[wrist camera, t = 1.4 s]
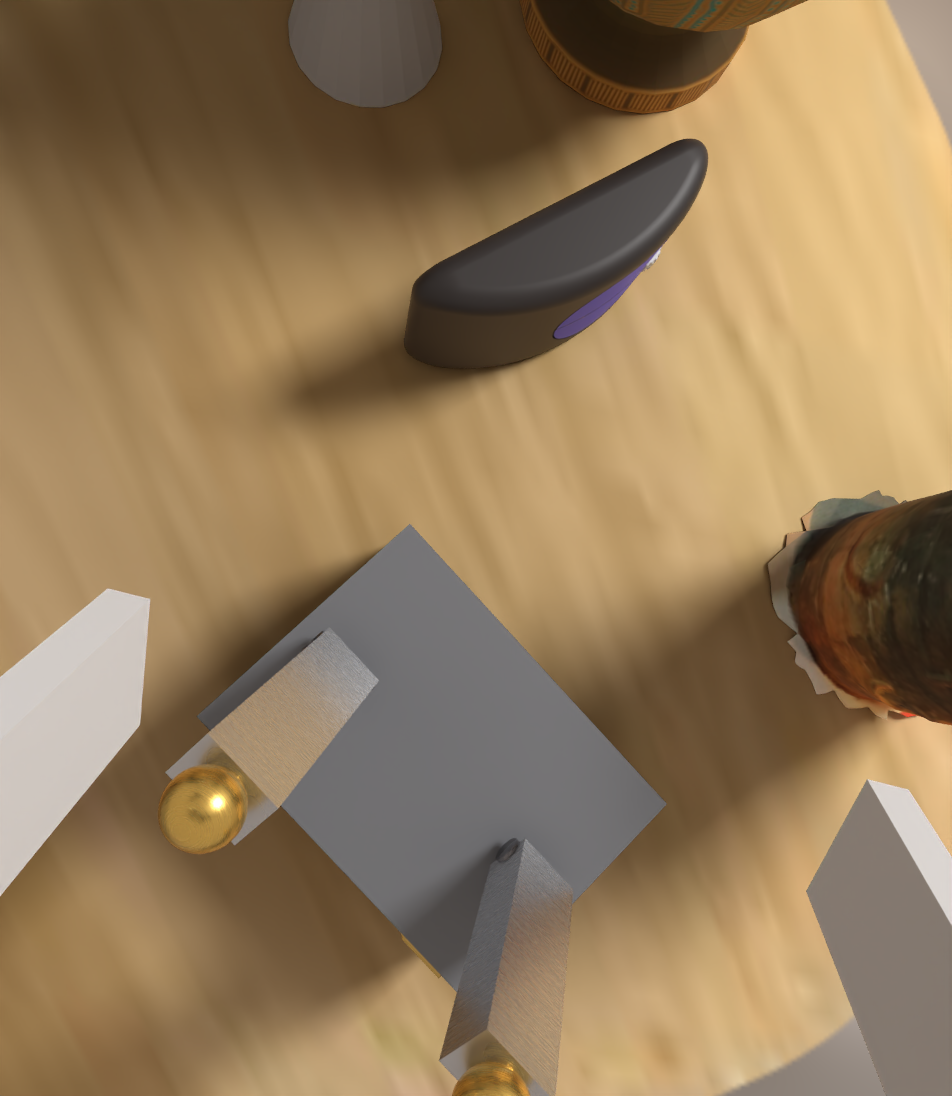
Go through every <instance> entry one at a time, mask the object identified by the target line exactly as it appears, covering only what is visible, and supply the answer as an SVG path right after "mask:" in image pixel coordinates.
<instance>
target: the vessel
mask: <svg viewBox="0 0 952 1096" xmlns="http://www.w3.org/2000/svg"><path fill="white" fill-rule="evenodd" d="M802 519H803V522H804V525H805V528H806V531H803V532H795V533H788V534H787V541H786V547H785V548H784V549H783V550H782V551H780V552H779V553H778V554H777V555H776V556H775V557H774V558H773V559H772V560H771V561H770V562H769V563H768V569H769V575H770V581H771V596H772V602H773V606H774V609H775V611H776V613H777V616H778V617H779V618H780V619H781V620H782V621H783V622H784V623H785V624H787V625H788V626H789V627H790V628H791V629H793V630H794V631H795V632H796V633H798V634H796V635H795V636H794V637H793V638H791V639H790V640H789V641H788V643H789V644H790V645H791V646H792V648H793V649H794V650H795V651H796V657H795V663H796V664H797V665H798V666H799V667H800V668H802V669H805V671H806V672H807V674H808V676H809V678H810V679H811V681H812V684H813V686H814V689H815V692H816V694H825V693H828V692H830V691H833V690H834V691H835V693H836V694H837V696H838V698H839V699H840V701H841V702H842V703H843V704H844V706H845V707H846V708H852V709H859V708H865V707H869V708H870V709H871V711H872V712H873V713H874V714H875V715H876V716H878V717H880V718H883V719H886V720H887V716H888V710H890V711H893V712H897V713H900V714H902V715H904V716H907V717H910V716H915V715H917V716H921V717H924V718H926V719H928V720H929V721H932V722H937V723H942V724H948V725H952V490H951V491H947V492H944V493H940V494H936V495H933V496H929V497H925V498H921V499H917V500H913V501H909V502H907V501H906V500H905V501H904V502H902V503H901V504H899V503H898V502H897V501H896V500H895V499H894V498H893V497H890V496H882V495H881V493H880V491H879V490H878V491H875V492H873V493H871V494H869V495H867V496H865V497H864V498H862V499H838V498H833V499H829V500H825V501H821V502H818V504H817V505H816V506H815V507H814V508H813V509H812V511H810V512H809V513H808V514H806V515H805V516H803V517H802Z"/></svg>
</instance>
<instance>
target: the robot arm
mask: <svg viewBox="0 0 952 1096" xmlns="http://www.w3.org/2000/svg"><path fill="white" fill-rule="evenodd" d="M149 607H150V599H148V598H144V597H140V596H136V595H132V594H128V593H124V592H120V591H116V590H112V589H107V590H105V591H104V592H103V593H102V594H100V595H99V596H98V597H97V598H96V599H94V600H93V601H92V602H91V603H90V604H88V605H87V606H86V607H85V608H83V609H82V610H81V611H80V612H79V613H77V614H76V615H75V616H74V617H73V618H71V619H70V620H69V621H68V622H66V623H65V624H64V625H63V626H62V627H60V628H59V629H58V630H57V631H56V632H54V633H53V634H52V635H51V636H49V637H48V638H47V639H46V640H45V641H43V642H42V643H41V644H40V645H39V646H37V647H36V648H35V649H34V650H33V651H31V652H30V653H29V654H28V655H26V656H25V657H24V658H23V659H22V660H20V661H19V662H18V663H17V664H16V665H14V666H13V667H12V668H11V669H9V670H8V671H7V672H6V673H5V674H3V675H2V676H1V677H0V896H1V895H2V893H3V892H4V891H5V890H6V888H7V887H8V886H9V885H10V883H11V882H12V881H13V880H14V879H15V877H16V876H17V875H18V874H19V872H20V871H21V870H22V869H23V868H24V866H25V865H26V864H27V863H28V861H29V860H30V859H31V858H32V857H33V855H34V854H35V853H36V852H37V850H38V849H39V848H40V847H41V846H42V844H43V843H44V842H45V841H46V839H47V838H48V837H49V836H50V835H51V833H52V832H53V831H54V830H55V828H56V827H57V826H58V825H59V824H60V822H61V821H62V820H63V819H64V817H65V816H66V815H67V814H68V812H69V811H70V810H71V809H72V808H73V806H74V805H75V804H76V803H77V801H78V800H79V799H80V798H81V797H82V795H83V794H84V793H85V792H86V790H87V789H88V788H89V787H90V786H91V784H92V783H93V782H94V781H95V779H96V778H97V777H98V776H99V775H100V773H101V772H102V771H103V770H104V768H105V767H106V766H107V765H108V764H109V762H110V761H111V760H112V759H113V757H114V756H115V755H116V754H117V753H118V751H119V750H120V749H121V748H122V746H123V745H124V744H125V743H126V742H127V740H128V739H129V738H130V737H131V735H132V734H133V733H134V732H135V730H136V729H137V728H138V727H139V726H140V718H141V706H142V693H143V681H144V669H145V656H146V644H147V632H148V619H149ZM806 892H807V894H808V897H809V899H810V902H811V905H812V907H813V910H814V912H815V915H816V917H817V920H818V922H819V925H820V928H821V930H822V933H823V935H824V938H825V940H826V943H827V946H828V948H829V951H830V953H831V956H832V958H833V961H834V964H835V966H836V969H837V971H838V974H839V976H840V979H841V982H842V984H843V987H844V989H845V992H846V994H847V997H848V1000H849V1002H850V1005H851V1007H852V1010H853V1012H854V1015H855V1018H856V1020H857V1023H858V1025H859V1028H860V1030H861V1033H862V1035H863V1038H864V1041H865V1043H866V1045H867V1048H868V1051H869V1053H870V1056H871V1059H872V1061H873V1064H874V1066H875V1069H876V1071H877V1074H878V1077H879V1079H880V1082H881V1084H882V1087H883V1089H884V1092H885V1094H886V1096H952V857H951V855H950V854H949V852H948V850H947V849H946V847H945V846H944V844H943V843H942V841H941V840H940V838H939V836H938V835H937V833H936V832H935V830H934V829H933V827H932V826H931V824H930V822H929V821H928V819H927V818H926V816H925V815H924V813H923V811H922V810H921V808H920V807H919V805H918V804H917V802H916V801H915V799H914V797H913V796H912V794H911V793H910V791H909V790H908V789H904V788H900V787H896V786H892V785H888V784H884V783H880V782H876V781H872V780H868V779H867V781H866V782H865V784H864V786H863V788H862V790H861V792H860V793H859V795H858V797H857V799H856V801H855V803H854V804H853V806H852V808H851V810H850V812H849V814H848V815H847V817H846V819H845V821H844V823H843V825H842V826H841V828H840V830H839V832H838V834H837V836H836V837H835V839H834V841H833V843H832V845H831V847H830V848H829V850H828V852H827V854H826V856H825V858H824V859H823V861H822V863H821V865H820V867H819V869H818V870H817V872H816V874H815V876H814V878H813V880H812V881H811V883H810V885H809V887H808V889H807V891H806Z"/></svg>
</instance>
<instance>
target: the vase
mask: <svg viewBox="0 0 952 1096" xmlns="http://www.w3.org/2000/svg"><path fill="white" fill-rule="evenodd" d="M805 1H807V0H520V5H521V9H522V13H523V17H524V22H525V26H526V30H527V32H528V34H529V36H530V38H531V40H532V41H533V43H534V45H535V47H536V49H537V51H538V53H539V55H540V57H541V58H542V59H543V60H544V61H545V63H546V64H547V65H548V66H549V67H550V68H551V69H552V71H553V72H554V73H555V74H556V75H557V76H558V77H559V79H560V80H561V81H563V82H564V83H565V84H567V85H568V86H570V87H571V88H572V89H574V90H575V91H577V92H578V93H579V94H581V95H582V96H584V97H585V98H587V99H589V100H592V101H594V102H597V103H599V104H602V105H604V106H607V107H609V108H612V109H614V110H621V111H628V112H635V113H643V114H645V113H652V112H660V111H668V110H673V109H675V108H677V107H680V106H682V105H684V104H687V103H689V102H691V101H694V100H696V99H697V98H699V97H700V96H701V95H702V94H703V93H705V92H706V91H707V90H708V89H709V88H710V87H712V86H713V85H714V84H715V83H716V82H717V81H718V80H719V78H720V77H721V75H722V74H723V72H724V71H725V69H726V68H727V66H728V65H729V63H730V62H731V60H732V59H733V57H734V56H735V54H736V53H737V51H738V50H739V48H740V46H741V45H742V43H743V42H744V40H745V38H746V35H747V31H748V28H749V25H752V24H754V23H756V22H759V21H761V20H763V19H766V18H768V17H771V16H773V15H775V14H778V13H780V12H782V11H785V10H787V9H789V8H791V7H794V6H796V5H798V4H801V3H803V2H805Z"/></svg>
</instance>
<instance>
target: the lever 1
mask: <svg viewBox="0 0 952 1096" xmlns="http://www.w3.org/2000/svg"><path fill="white" fill-rule="evenodd" d="M301 651H302V652H301V653H299V654H298V655H297V656H296V657H295V658H294V659H293V660H291V661H290V662H289V663H288V664H287V665H286V666H284V667H283V668H282V669H281V670H280V671H279V672H278V673H276V674H275V675H274V676H273V677H272V678H271V679H269V680H268V681H267V682H266V683H265V684H264V685H263V686H261V687H260V688H259V689H258V690H257V691H256V692H255V693H253V694H252V695H251V696H250V697H249V698H248V699H246V700H245V701H244V702H243V703H242V704H241V705H240V706H238V707H237V708H236V709H235V710H234V711H233V712H231V713H230V714H229V715H228V716H227V717H226V718H225V719H223V720H222V721H221V722H220V723H219V724H218V725H216V726H215V727H214V728H213V729H212V730H211V731H210V732H208V733H207V734H206V735H205V736H204V737H203V738H202V739H201V740H200V741H199V742H198V743H196V744H195V745H194V746H193V747H192V748H191V749H190V750H189V751H188V752H187V753H186V754H185V755H184V756H182V757H181V758H180V759H179V760H178V761H177V762H176V763H175V764H174V765H173V766H172V767H171V768H169V769H168V770H167V771H166V772H165V773H166V774H167V775H168V776H169V777H170V778H171V779H172V781H171V782H170V783H169V784H168V785H167V787H166V788H165V790H164V792H163V794H162V796H161V799H160V802H159V807H158V820H159V825H160V828H161V831H162V833H163V834H164V836H165V838H166V839H167V840H168V841H169V842H170V843H171V844H172V845H173V846H174V847H176V848H178V849H179V850H182V851H184V852H187V853H192V854H205V853H210V852H213V851H216V850H218V849H221V848H222V847H224V846H226V845H227V844H228V843H230V842H232V843H233V844H234V845H236V844H237V843H238V842H239V841H241V840H242V839H243V838H244V837H245V836H247V835H248V834H249V833H250V832H251V831H252V830H254V829H255V828H256V827H257V826H258V825H259V824H261V823H262V822H263V821H264V820H265V819H267V818H268V817H269V816H270V815H271V814H272V813H274V812H275V811H276V810H277V809H278V808H279V807H280V806H281V804H282V803H283V802H284V801H285V799H286V798H287V797H288V796H289V794H290V793H291V792H292V790H293V789H294V788H295V787H296V785H297V784H298V783H299V782H300V780H301V779H302V778H303V776H304V775H305V774H306V773H307V771H308V770H309V769H310V768H311V766H312V765H313V764H314V763H315V761H316V760H317V759H318V757H319V756H320V755H321V754H322V752H323V751H324V750H325V749H326V747H327V746H328V745H329V743H330V742H331V741H332V740H333V738H334V737H335V736H336V735H337V733H338V732H339V731H340V729H341V728H342V727H343V726H344V724H345V723H346V722H347V721H348V719H349V718H350V717H351V716H352V714H353V713H354V712H355V710H356V709H357V708H358V707H359V705H360V704H361V703H362V702H363V700H364V699H365V698H366V696H367V695H368V694H369V693H370V692H371V691H372V690H373V689H374V687H375V685H376V684H377V682H378V681H379V680H378V679H377V678H376V677H375V676H374V675H373V673H372V672H371V671H370V670H369V669H368V668H367V667H366V666H365V665H364V664H363V663H362V662H361V661H360V659H359V658H358V657H357V656H356V655H355V654H354V653H353V652H352V651H351V650H350V649H349V648H348V647H347V645H346V644H345V643H344V642H343V641H342V640H341V639H340V638H339V637H338V636H337V635H336V634H335V633H334V631H333V630H332V629H331V628H330V627H329V628H328V629H327V630H326V631H325V632H324V631H321V632H320V633H319V634H318V635H317V636H316V637H315V638H314V639H313V640H311V641H310V642H309V643H308V644H307V645H306V646H305V647H304V648H303V649H302V650H301Z"/></svg>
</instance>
